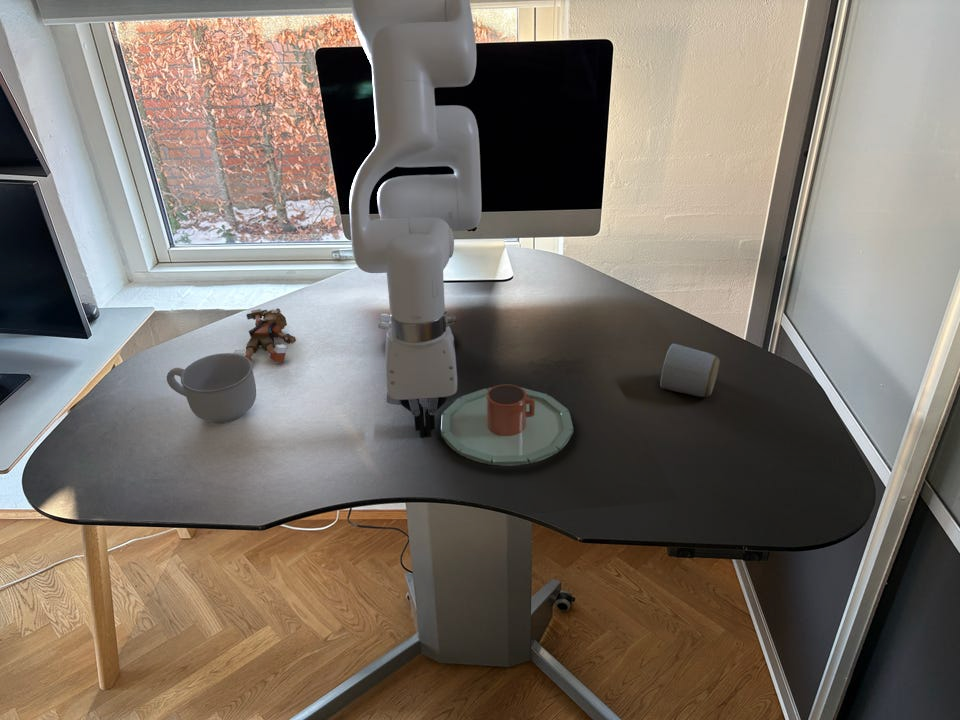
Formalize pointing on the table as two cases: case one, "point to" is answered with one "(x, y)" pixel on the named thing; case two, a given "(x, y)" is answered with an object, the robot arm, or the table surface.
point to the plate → (533, 444)
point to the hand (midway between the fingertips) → (425, 432)
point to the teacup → (217, 386)
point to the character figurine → (267, 335)
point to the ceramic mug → (689, 371)
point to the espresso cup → (508, 409)
